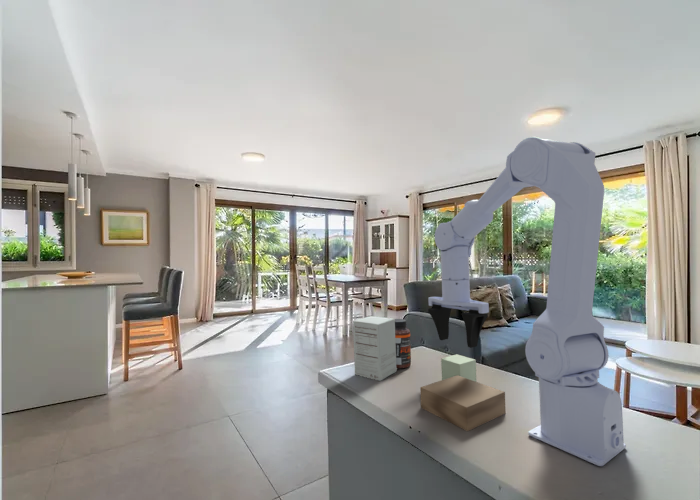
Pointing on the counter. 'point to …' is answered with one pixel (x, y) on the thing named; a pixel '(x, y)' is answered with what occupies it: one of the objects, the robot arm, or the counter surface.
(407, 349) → the supplement bottle
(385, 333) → the supplement box
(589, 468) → the counter surface
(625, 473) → the counter surface
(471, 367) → the sage cube
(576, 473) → the counter surface
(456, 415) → the walnut block
